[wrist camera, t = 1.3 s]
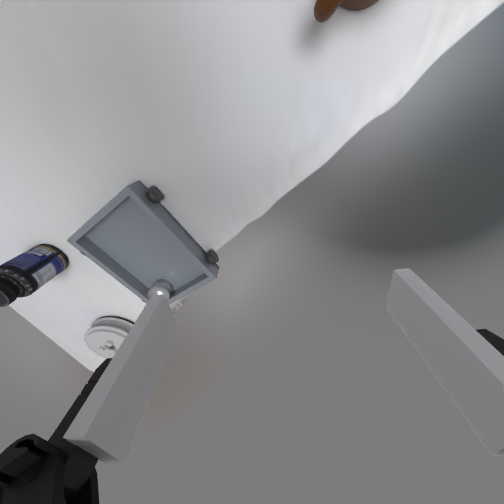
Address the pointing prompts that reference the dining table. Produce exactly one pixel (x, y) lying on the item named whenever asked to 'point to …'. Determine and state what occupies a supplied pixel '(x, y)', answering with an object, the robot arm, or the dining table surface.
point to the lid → (107, 336)
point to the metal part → (161, 289)
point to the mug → (329, 3)
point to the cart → (144, 245)
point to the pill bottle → (29, 272)
